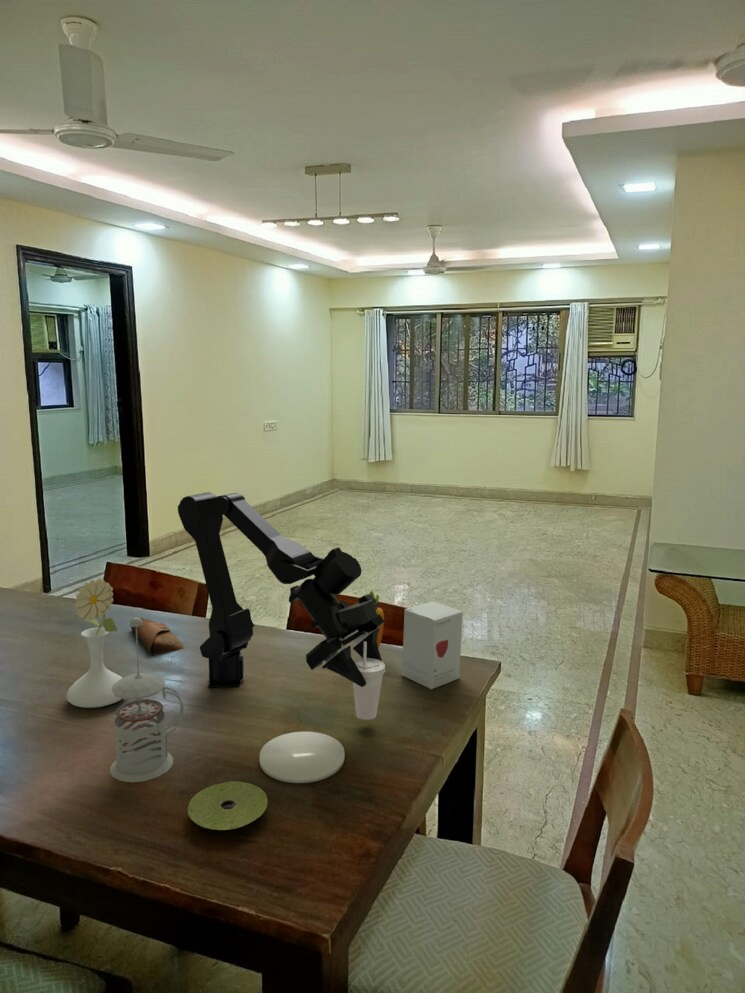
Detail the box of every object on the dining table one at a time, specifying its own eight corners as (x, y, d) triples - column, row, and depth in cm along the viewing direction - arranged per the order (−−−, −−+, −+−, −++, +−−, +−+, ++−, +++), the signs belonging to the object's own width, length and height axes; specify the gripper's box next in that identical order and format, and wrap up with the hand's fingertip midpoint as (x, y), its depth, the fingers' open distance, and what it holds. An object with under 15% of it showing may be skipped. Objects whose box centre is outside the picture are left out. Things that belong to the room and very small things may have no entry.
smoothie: (347, 706, 128) (349, 635, 126) (382, 706, 129) (384, 635, 126) (349, 723, 122) (351, 649, 120) (385, 723, 123) (388, 648, 120)
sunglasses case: (187, 648, 159) (172, 627, 156) (162, 668, 156) (145, 647, 153) (165, 624, 174) (150, 604, 171) (141, 642, 171) (125, 622, 168)
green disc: (264, 840, 94) (264, 827, 94) (181, 843, 93) (180, 830, 93) (270, 791, 105) (270, 779, 105) (195, 793, 104) (195, 781, 104)
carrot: (381, 661, 154) (382, 597, 151) (359, 659, 155) (360, 595, 152) (385, 653, 158) (386, 590, 156) (364, 650, 159) (365, 588, 157)
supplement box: (431, 690, 140) (433, 620, 137) (400, 676, 147) (402, 608, 144) (461, 678, 146) (464, 611, 143) (430, 664, 153) (432, 600, 150)
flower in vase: (56, 699, 133) (48, 574, 129) (112, 681, 141) (106, 563, 137) (87, 723, 124) (79, 590, 120) (145, 702, 133) (140, 577, 128)
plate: (258, 785, 107) (258, 779, 106) (260, 738, 120) (260, 733, 120) (348, 780, 108) (348, 774, 108) (340, 735, 122) (340, 729, 122)
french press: (108, 755, 114) (100, 611, 110) (180, 741, 119) (175, 603, 114) (111, 787, 105) (103, 632, 101) (188, 772, 110) (184, 622, 106)
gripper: (321, 597, 115) (376, 675, 112) (377, 571, 131) (427, 639, 127) (283, 632, 120) (334, 707, 117) (341, 603, 136) (388, 669, 133)
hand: (373, 678), depth 123 cm, fingers closed on smoothie, 6 cm apart
